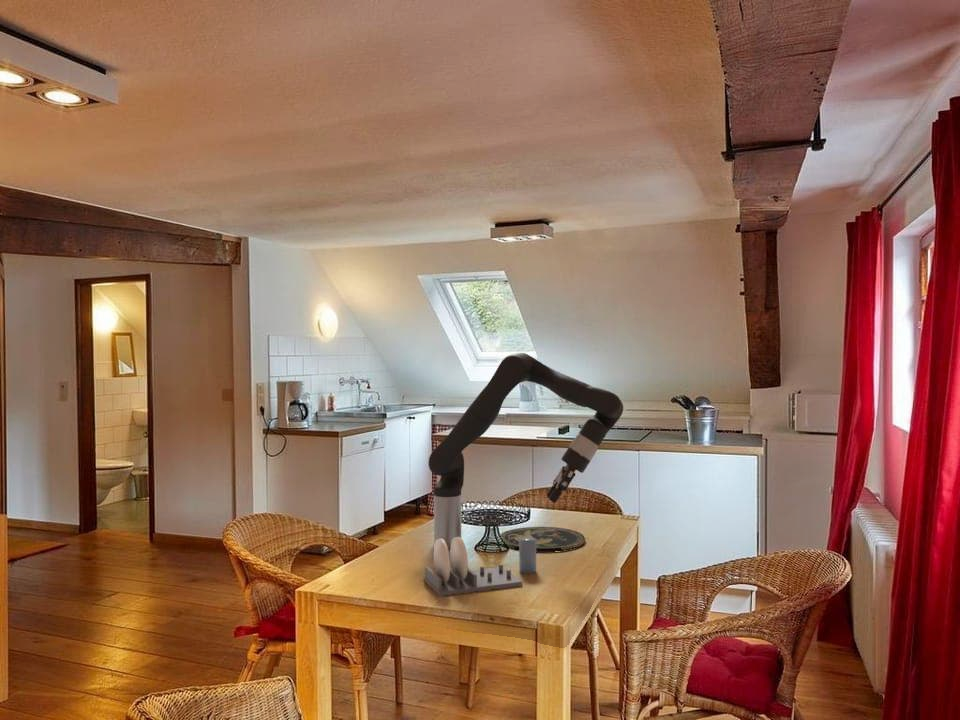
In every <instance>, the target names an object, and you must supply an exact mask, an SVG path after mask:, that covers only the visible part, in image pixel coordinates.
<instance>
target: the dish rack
mask: <svg viewBox="0 0 960 720" xmlns="http://www.w3.org/2000/svg"><path fill="white" fill-rule="evenodd" d="M433 545H434V544H433ZM468 562H469V561H468V553H467V548H466V545H465V543H464V540H463V539H462V537H461V538H460V537H454V538H453V540H452V542H451V548H450V550H449V549H448V547H447V544H446V542H445V540H444V539H437V540H436V542H435V545H434V546H433V567H434V571H433V570H432V569H431V568H430V567H429V566H428V565H425V567H424V575H423V581H424V582H425V584H427V585H428V586H429V587H430V589H431V590H432V591H434V593H436V594H437V596H438V597H440V596H442V597H446V595H449V596H453V595H452V594H457V595H460V594H459V593H464V594H467V593H466V592H472V593H475V592H474V591H479V592H484V591H483V590H487V591H492V590H491V589H494V590H501V588H502V589H507V588H508V589H510V588H515V587H523V581H522V580H521V579H519V578H518V577H517V576H515V574H513V573H512V572H511V571H512V570H511V569H506V568H504V564H498V566H496V567H489V568H488V567H487V568H485V566H480V567H479V569H470V568H469V566H468V565H469V563H468Z"/></svg>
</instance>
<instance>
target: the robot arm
mask: <svg viewBox="0 0 960 720" xmlns="http://www.w3.org/2000/svg"><path fill="white" fill-rule="evenodd" d="M523 382H530V383H534V384H538V385H541V386H542V387H545V388H547V389H549V390H550V391H551V392H552V393H554V394H555V395H556V396H558V397H560V398H561V399H563V400H565V401H567V402H570V403H571V404H575V405H576V406H579V407H581V408H588V409H591V410H593V411H595V414H594V415H593V416H592V417H591V418H590V419H587V421H585V423H584V424H583V425H582V427H581V429H580V431H579V432H578V434H577V435H576V436H575V437H574V439H573V440H572V441H571V443H570V444H569V446H568V448H567V449H566V451H565V452H564V454H563V455H562V457H561V461H563V462H564V463H566V465H563V466H562V467H561V469H560V470H559V472H558V474H556V476H555V478H554V479H553V483H552V486H551V487H550V489H549V490H548V492H547V494H546V497H547V498H548V499H549V501H551V502H552V503H554V504H555V503H557V501H558V500H559V498H560V497H561V495H562V494H563V493H564V492H566V491H567V489H568V487H569V486H570V484H571V482H572V481H573V479H574V477H576V473H575V472H576V471H578V472H579V473H581V474H583V473H584V472H585V470H586V469H587V467H588V466H589V464H590V462H591V461H592V460H593V458H594V457H595V455H596V453H597V451H598V448H599V447H600V445H601V443H602V442H603V441H604V439H605V437H606V436H607V434H608V433H609V432H610V430H612V428H613V427H614V426H615V424H617V423H618V421H619V419H620V418H621V416H622V415H623V411H624V404H623V401H621V399H620V397H619V396H618V395H617V394H616V393H613V392H612V391H610V390H606V389H603V388H599V387H596V386H592V385H590V384H588V383H586V382H584V381H581V380H579V379H576V378H574V377H572V376H568V375H566V374H564V373H562V372H560V371H557V370H555V369H554V368H552V367H550V366H547V365H546V364H544V363H542V362H541V361H539V360H537V358H534V357H533V356H531V355H529V354H528V353H525V352H518V353H517V352H516V353H512V354H509V355H507V356H506V357H504V358H503V359H502V360H501V362H500V363H499V365H498V367H497V369H496V370H495V372H494V373H493V376H492V377H491V378H490V380H489V382H488V383H487V384H486V385H485V387H484V388H483V389H482V390H481V392H480V393H479V394H478V395H477V396H476V397H475V399H474V400H473V401H472V402H471V404H470V405H469V406H468V407H467V409H466V410H465V412H464V413H463V414H462V416H461V417H460V419H458V421H457V423H456V424H455V425H454V427H453V428H452V429H451V431H450V432H449V433H448V435H446V436H445V438H444V439H443V440H442V441H441V442H440V443H439V444H438V446H437V445H436V447H435V449H433V450H432V452H431V454H430V455H429V458H428V468H429V470H430V472H431V473H432V474H434V475H435V476H439V477H440V479H439V481H438V482H437V483H436V484H435V485H434V487H433V545H435V542H436V540H437V539H444V540H445V542H446V544H447V547H448V550H449V549H450V548H451V542H452V540H453V538H454V537H460V538H461V539H462V489H463V487H464V480H465V479H464V477H465V458H464V453H463V451H464V450H465V449H466V448H467V447H468V446H470V445H471V444H472V443H474V442H475V441H477V440H478V439H479V438H480V437H481V436H483V435H484V434H485V432H487V431H488V429H490V427H491V426H492V424H494V422H495V420H496V419H497V418H498V416H499V414H500V412H501V411H500V410H501V408H502V405H503V404H504V402H505V399H506V398H507V397H508V396H509V394H510V393H511V392H512V391H513V390H514V389H515V387H517V386H518V385H519V384H520V383H523Z"/></svg>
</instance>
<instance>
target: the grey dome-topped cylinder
mask: <svg viewBox="0 0 960 720" xmlns="http://www.w3.org/2000/svg"><path fill="white" fill-rule="evenodd" d="M518 552H519V555H518V557H519V558H518V559H519V565H518V566H519V569H518V570H519V573H520V574H524V575H532V574H536V573H537V553H536V539H535V538H531V537H523V538H520V539H519V551H518Z"/></svg>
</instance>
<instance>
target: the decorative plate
mask: <svg viewBox="0 0 960 720" xmlns="http://www.w3.org/2000/svg"><path fill="white" fill-rule="evenodd" d="M499 535H500V536H501V537H502V539H503V541H504V542H505V543H506V544H507V546H508V547H509V548H511V549H510V550H513V549H514V551H518V550H519V539H520V538H523V537H531V538H535V539H536V552H554V553H556V552H555V551H564V550H570V549H574V548H577V549H579V548H578V547H580V546H581V547H583V546H584V545H585V544H586V537H585V536H584V534H583V533H581V532H579V531H576V530H573V529H567V528H563V527H558V526H557V527H556V526H555V527H554V526H528V527H519V528H518V527H517V528H514V529H510V530H506V531H503V532H501V533H500V534H499ZM584 543H585V544H584ZM582 545H583V546H582ZM581 547H580V548H581ZM509 548H508V549H509ZM574 550H575V549H574ZM570 551H571V550H570ZM564 552H565V551H564Z"/></svg>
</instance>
